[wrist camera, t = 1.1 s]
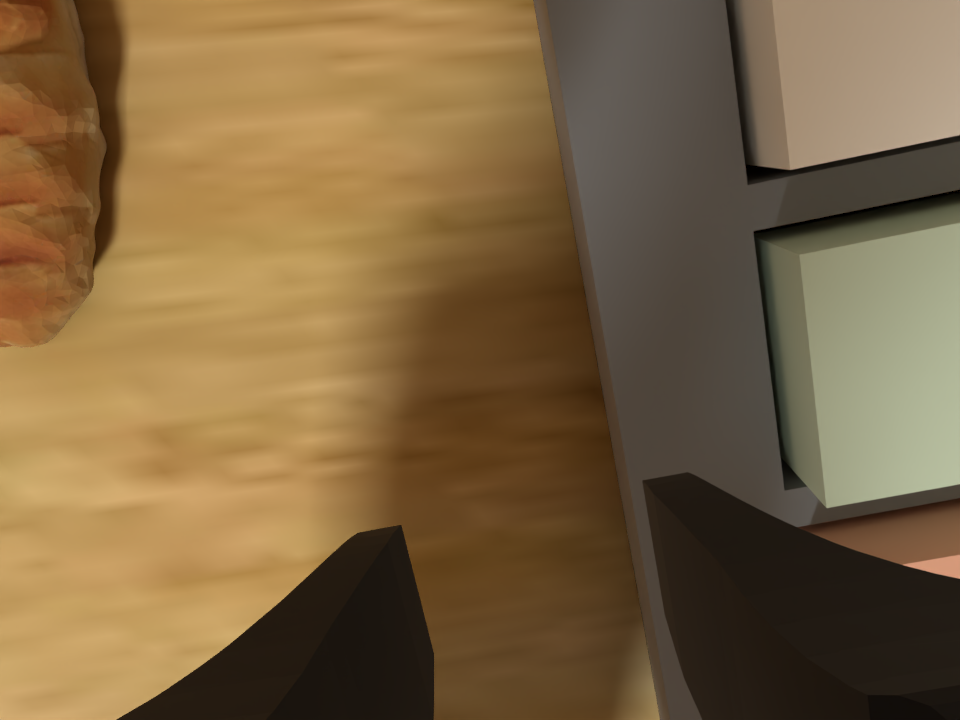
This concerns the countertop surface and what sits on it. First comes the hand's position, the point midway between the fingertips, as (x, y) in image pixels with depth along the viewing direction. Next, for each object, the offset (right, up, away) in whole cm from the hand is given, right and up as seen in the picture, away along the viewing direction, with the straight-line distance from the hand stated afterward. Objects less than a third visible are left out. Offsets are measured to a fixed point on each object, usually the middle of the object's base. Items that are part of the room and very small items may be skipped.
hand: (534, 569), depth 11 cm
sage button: (+8, +4, +7) cm, 11 cm away
